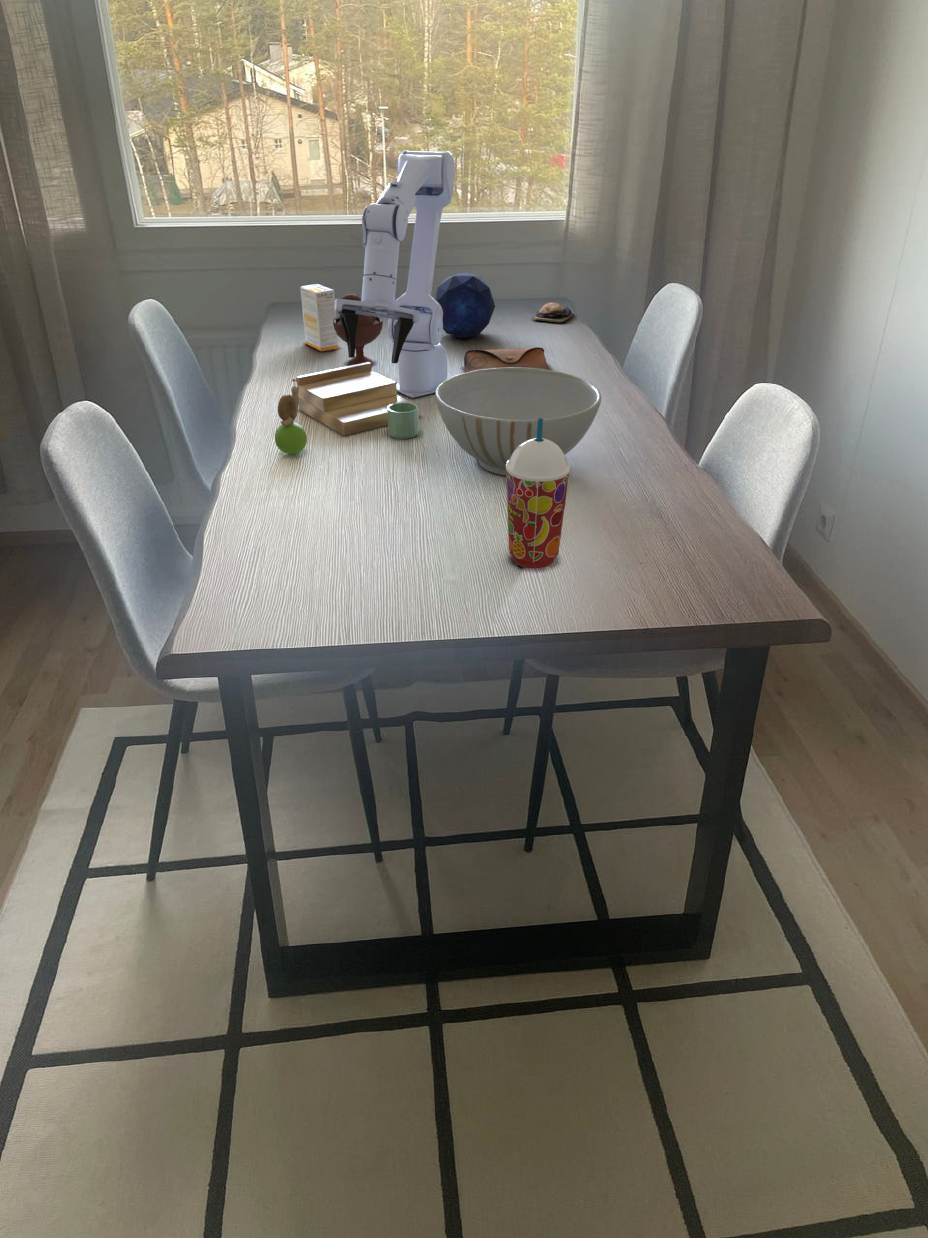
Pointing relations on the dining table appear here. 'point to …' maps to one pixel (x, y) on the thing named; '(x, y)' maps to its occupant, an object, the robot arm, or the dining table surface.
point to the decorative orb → (465, 304)
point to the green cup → (403, 420)
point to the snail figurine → (290, 424)
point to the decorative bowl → (515, 410)
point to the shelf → (348, 398)
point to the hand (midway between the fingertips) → (373, 360)
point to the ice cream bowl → (360, 331)
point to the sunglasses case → (505, 359)
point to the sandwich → (553, 313)
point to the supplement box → (319, 317)
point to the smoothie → (536, 500)
